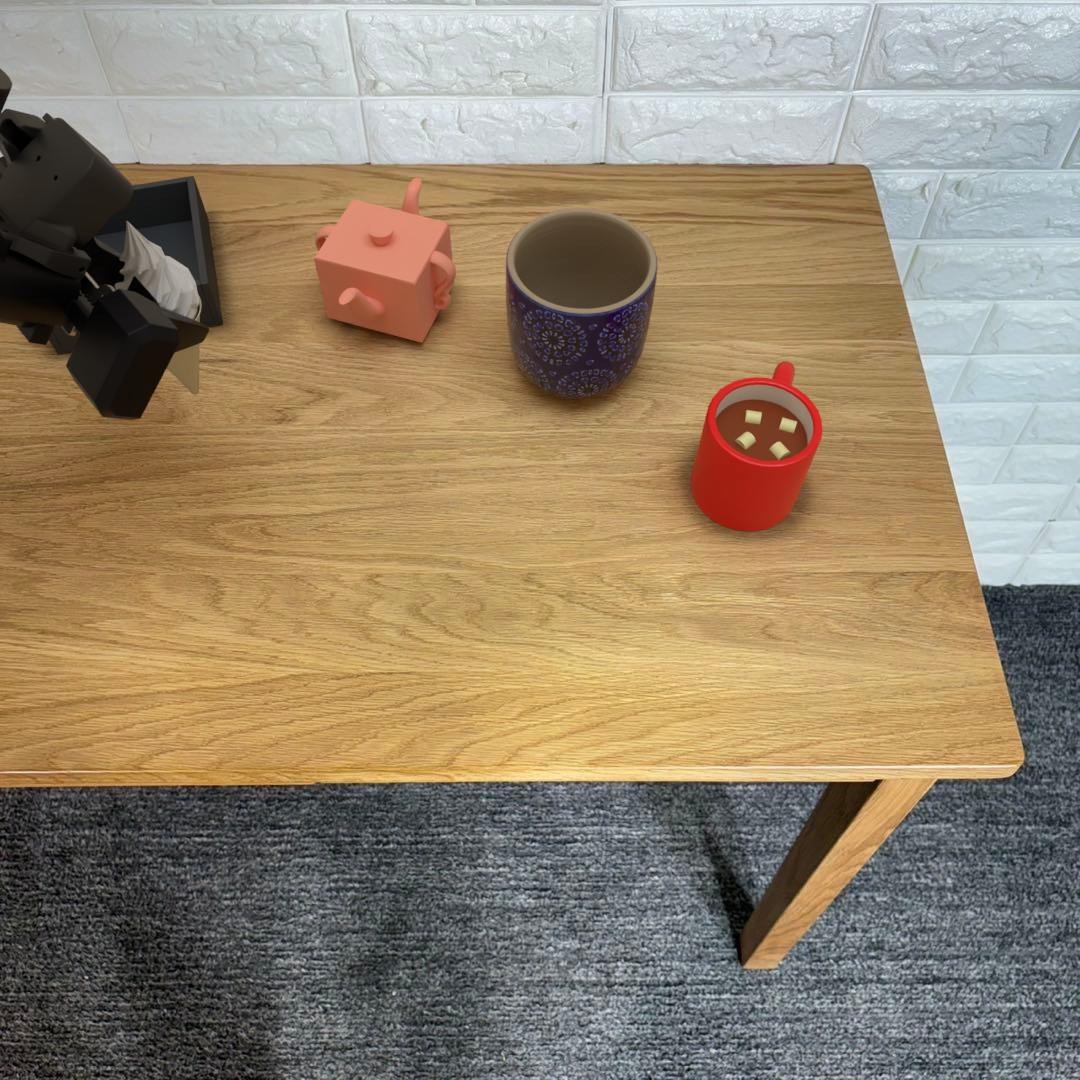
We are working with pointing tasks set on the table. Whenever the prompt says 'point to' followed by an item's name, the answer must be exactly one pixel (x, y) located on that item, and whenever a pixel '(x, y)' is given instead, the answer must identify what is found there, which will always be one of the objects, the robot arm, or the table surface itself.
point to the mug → (755, 451)
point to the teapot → (386, 267)
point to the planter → (579, 300)
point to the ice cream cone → (165, 295)
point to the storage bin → (165, 240)
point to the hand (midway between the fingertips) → (184, 311)
